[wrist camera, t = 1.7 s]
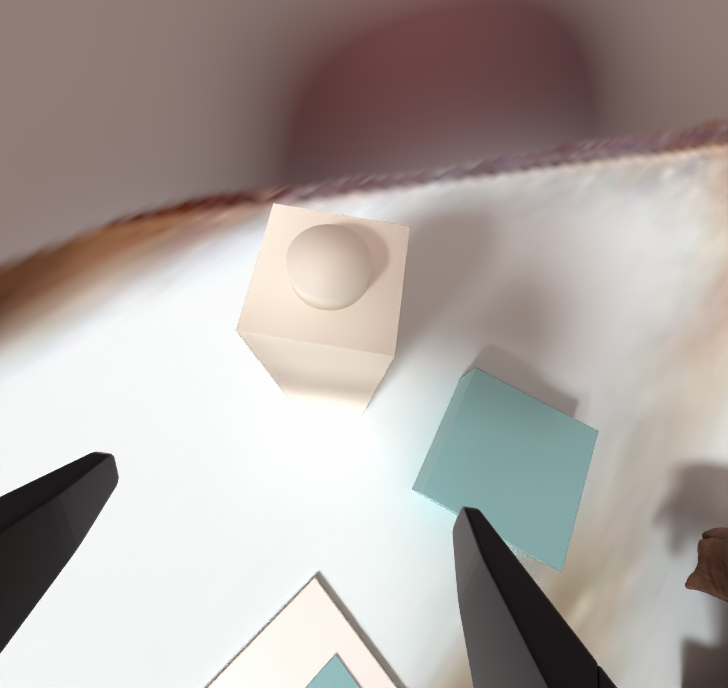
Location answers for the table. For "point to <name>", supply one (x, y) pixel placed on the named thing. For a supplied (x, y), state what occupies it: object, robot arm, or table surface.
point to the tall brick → (326, 305)
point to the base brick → (510, 465)
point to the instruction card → (306, 650)
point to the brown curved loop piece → (712, 564)
